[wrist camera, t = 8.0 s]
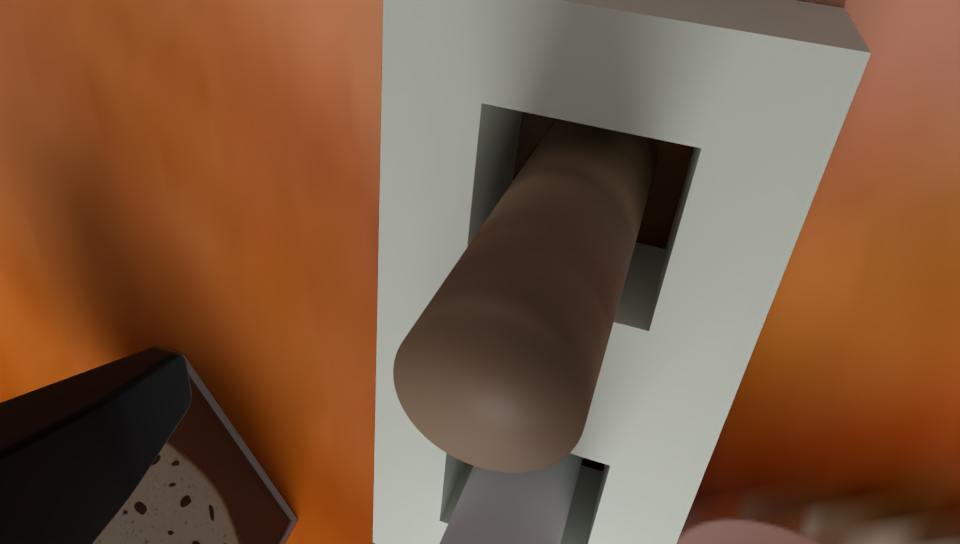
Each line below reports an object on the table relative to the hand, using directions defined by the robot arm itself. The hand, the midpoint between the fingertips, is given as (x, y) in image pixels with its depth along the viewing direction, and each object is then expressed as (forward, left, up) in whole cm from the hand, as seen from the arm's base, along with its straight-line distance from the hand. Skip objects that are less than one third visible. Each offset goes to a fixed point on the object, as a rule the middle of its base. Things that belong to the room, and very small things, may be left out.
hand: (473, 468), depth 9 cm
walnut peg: (0, 0, -11) cm, 11 cm away
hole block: (+4, 0, -11) cm, 12 cm away
